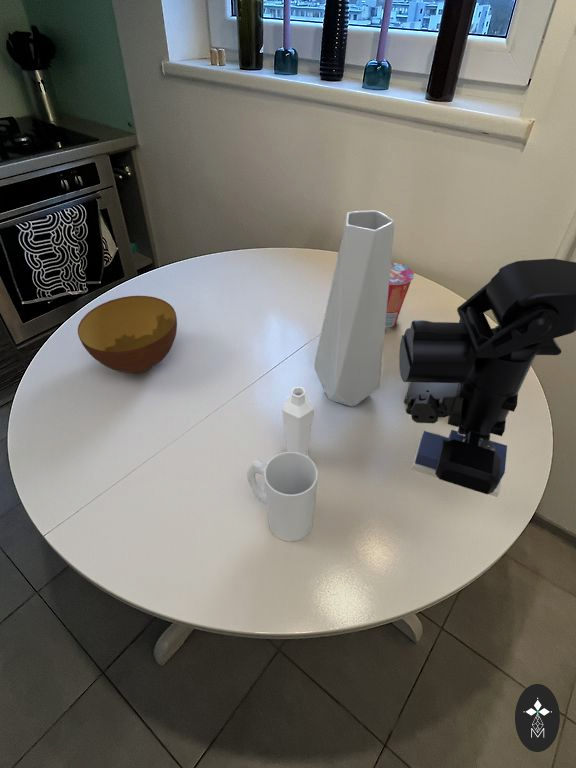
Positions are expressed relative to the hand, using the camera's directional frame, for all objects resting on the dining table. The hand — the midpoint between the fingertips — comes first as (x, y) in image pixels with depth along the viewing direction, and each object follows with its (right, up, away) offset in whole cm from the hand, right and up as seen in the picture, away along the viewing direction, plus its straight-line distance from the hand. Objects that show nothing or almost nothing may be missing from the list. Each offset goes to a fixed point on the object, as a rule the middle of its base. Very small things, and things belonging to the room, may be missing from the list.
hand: (458, 463), depth 60 cm
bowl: (-52, +15, +30) cm, 62 cm away
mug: (-24, -9, +5) cm, 26 cm away
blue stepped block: (0, -1, +1) cm, 1 cm away
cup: (-2, +24, +40) cm, 47 cm away
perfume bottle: (-21, -1, +13) cm, 25 cm away
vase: (-11, +9, +24) cm, 28 cm away
